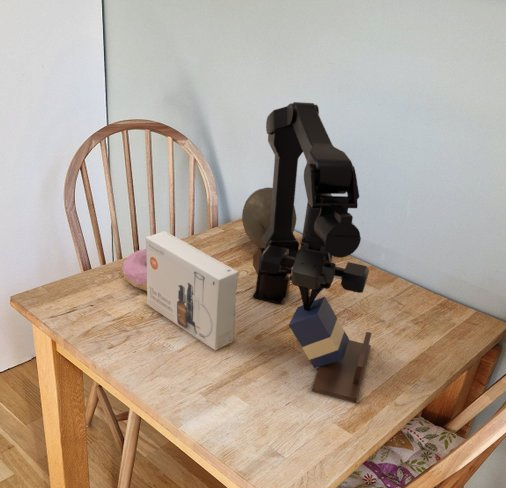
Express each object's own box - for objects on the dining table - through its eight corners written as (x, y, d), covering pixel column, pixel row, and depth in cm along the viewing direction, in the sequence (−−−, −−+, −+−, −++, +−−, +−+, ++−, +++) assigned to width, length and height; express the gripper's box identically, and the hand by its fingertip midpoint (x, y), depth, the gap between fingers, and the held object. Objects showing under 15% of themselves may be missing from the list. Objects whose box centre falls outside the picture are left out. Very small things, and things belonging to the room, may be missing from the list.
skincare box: (144, 306, 127) (144, 236, 119) (164, 298, 131) (166, 229, 123) (213, 352, 116) (219, 278, 107) (234, 342, 119) (241, 269, 111)
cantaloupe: (304, 249, 158) (312, 194, 150) (264, 263, 150) (271, 205, 142) (266, 230, 167) (272, 176, 159) (227, 242, 158) (231, 185, 150)
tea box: (288, 325, 111) (317, 314, 108) (297, 307, 117) (325, 296, 114) (314, 368, 114) (343, 359, 111) (322, 348, 120) (349, 339, 117)
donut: (110, 288, 132) (110, 267, 130) (137, 259, 145) (137, 239, 142) (179, 302, 130) (180, 281, 127) (200, 271, 143) (201, 252, 140)
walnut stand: (311, 391, 109) (315, 368, 106) (330, 339, 124) (334, 318, 121) (355, 403, 107) (361, 380, 105) (369, 349, 122) (374, 328, 119)
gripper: (253, 236, 100) (245, 318, 108) (367, 261, 96) (349, 344, 104) (272, 213, 109) (262, 290, 117) (376, 235, 105) (359, 313, 113)
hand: (306, 309), depth 113 cm, fingers closed
